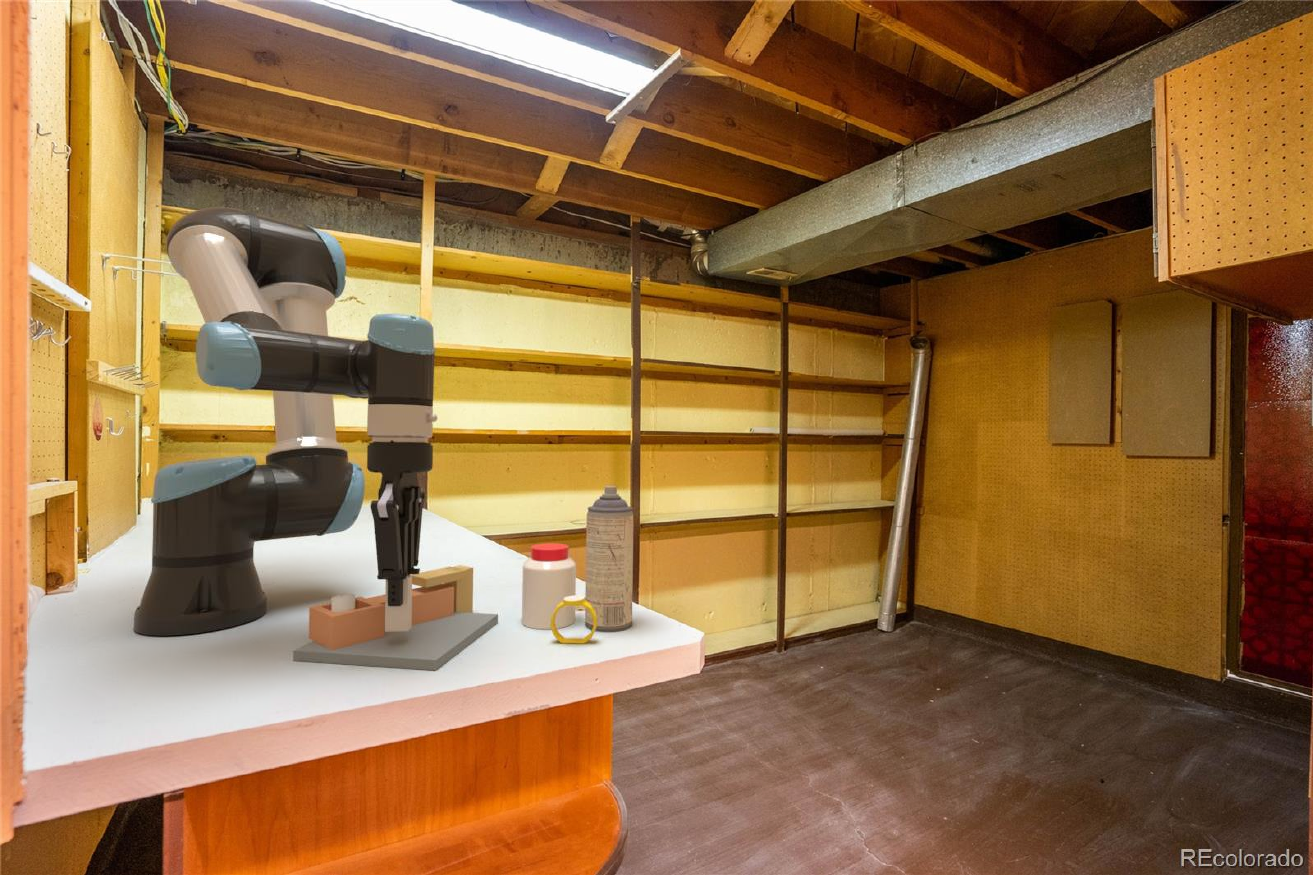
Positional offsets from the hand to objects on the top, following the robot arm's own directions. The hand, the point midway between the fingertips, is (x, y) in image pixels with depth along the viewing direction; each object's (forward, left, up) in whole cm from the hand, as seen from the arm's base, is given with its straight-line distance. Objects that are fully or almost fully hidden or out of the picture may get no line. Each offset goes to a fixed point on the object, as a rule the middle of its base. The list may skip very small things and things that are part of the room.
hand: (398, 629), depth 73 cm
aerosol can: (+23, +15, -3) cm, 28 cm away
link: (-5, +5, -2) cm, 7 cm away
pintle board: (-2, +6, -3) cm, 7 cm away
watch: (+20, +7, -3) cm, 22 cm away
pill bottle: (+14, +15, -3) cm, 21 cm away
